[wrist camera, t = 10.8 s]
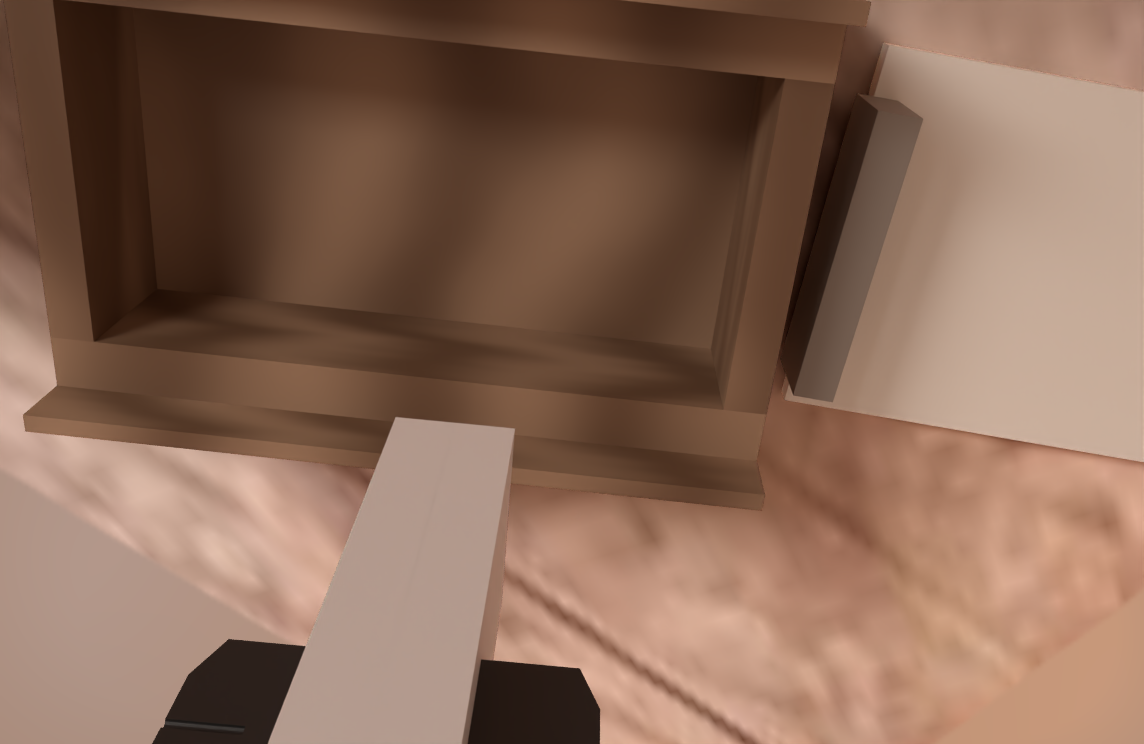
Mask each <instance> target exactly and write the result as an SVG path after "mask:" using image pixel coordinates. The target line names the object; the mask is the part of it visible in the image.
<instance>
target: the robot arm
mask: <svg viewBox="0 0 1144 744" xmlns="http://www.w3.org/2000/svg"><path fill="white" fill-rule="evenodd" d="M514 434H515V428H505V427H494V426H484V425H473V424H463V423H452V422H442V421H431V420H421V419H410V418H400V417H396V418H395V420H394V423H393V425H392V428H391V430H390V433H389V435H388V438H387V441H386V443H385V446H384V448H383V451H382V453H381V456H380V458H379V461H378V463H377V466H376V469H375V471H374V474H373V476H372V479H371V481H370V484H369V486H368V489H367V492H366V494H365V497H364V499H363V502H362V504H361V507H360V509H359V512H358V515H357V517H356V520H355V522H354V525H353V527H352V530H351V532H350V535H349V537H348V540H347V543H346V545H345V548H344V550H343V553H342V555H341V558H340V560H339V563H338V566H337V568H336V571H335V573H334V576H333V578H332V581H331V583H330V586H329V589H328V591H327V594H326V596H325V599H324V601H323V604H322V606H321V609H320V611H319V614H318V617H317V619H316V622H315V624H314V627H313V629H312V632H311V634H310V637H309V640H308V642H307V645H306V646H297V645H286V644H276V643H264V642H254V641H243V640H232V639H228V640H227V641H226V642H225V643H224V644H223V645H222V646H221V647H219V648H218V649H217V650H216V651H215V652H214V653H213V654H211V655H210V656H209V657H208V658H207V659H206V660H205V661H203V662H202V663H201V664H200V665H199V666H198V667H197V668H196V669H194V670H193V671H192V672H191V673H190V674H189V675H188V677H187V678H186V680H185V682H184V684H183V686H182V688H181V690H180V692H179V694H178V696H177V698H176V699H175V701H174V703H173V705H172V707H171V709H170V711H169V713H168V715H167V717H166V719H165V725H164V727H163V728H160V730H159V732H158V734H157V736H156V738H155V740H154V741H153V743H152V744H600V708H599V706H598V704H597V702H596V700H595V698H594V696H593V694H592V692H591V690H590V688H589V686H588V684H587V682H586V680H585V678H584V676H583V674H582V672H581V670H580V669H579V668H568V667H557V666H547V665H536V664H525V663H514V662H504V661H493V658H494V651H495V644H496V638H497V631H498V624H499V617H500V610H501V603H502V594H503V581H504V567H505V554H506V541H507V527H508V514H509V501H510V487H511V474H512V461H513V447H514Z"/></svg>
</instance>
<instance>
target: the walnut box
mask: <svg viewBox="0 0 1144 744" xmlns="http://www.w3.org/2000/svg"><path fill="white" fill-rule="evenodd" d="M870 6H871V2H869V1H866V0H4V8H5V15H6V22H7V29H8V36H9V43H10V51H11V58H12V65H13V72H14V79H15V86H16V93H17V101H18V108H19V115H20V122H21V129H22V136H23V144H24V151H25V158H26V165H27V172H28V179H29V186H30V194H31V201H32V208H33V215H34V222H35V229H36V237H37V244H38V251H39V258H40V265H41V272H42V279H43V287H44V294H45V301H46V308H47V315H48V322H49V330H50V337H51V344H52V351H53V358H54V365H55V372H56V380H57V386H56V387H55V388H54V389H53V390H52V391H50V392H49V393H48V394H47V395H46V396H45V397H43V398H42V399H41V400H40V401H39V402H38V403H36V404H35V405H34V406H33V407H32V408H31V409H29V410H28V411H27V412H26V413H25V414H24V415H23V419H24V425H25V431H27V432H36V433H45V434H55V435H64V436H73V437H83V438H92V439H101V440H110V441H120V442H129V443H138V444H147V445H157V446H166V447H175V448H185V449H194V450H203V451H212V452H222V453H231V454H240V455H250V456H259V457H268V458H277V459H287V460H296V461H305V462H315V463H324V464H333V465H342V466H352V467H361V468H370V469H376V466H377V463H378V461H379V458H380V456H381V453H382V451H383V448H384V446H385V443H386V441H387V438H388V435H389V433H390V430H391V428H392V425H393V423H394V420H395V418H396V417H400V418H410V419H421V420H431V421H442V422H452V423H463V424H473V425H484V426H494V427H505V428H515V434H514V447H513V461H512V474H511V484H519V485H528V486H537V487H547V488H556V489H565V490H574V491H584V492H593V493H602V494H612V495H621V496H630V497H639V498H649V499H658V500H667V501H677V502H686V503H695V504H704V505H714V506H723V507H732V508H742V509H751V510H760V511H762V507H763V502H764V498H765V493H764V489H763V485H762V481H761V477H760V472H759V468H758V464H757V457H758V452H759V447H760V443H761V438H762V433H763V428H764V423H765V418H766V414H767V409H768V404H769V399H770V394H771V390H772V385H773V380H774V375H775V370H776V365H777V361H778V356H779V351H780V346H781V341H782V337H783V332H784V327H785V322H786V317H787V312H788V308H789V303H790V298H791V293H792V288H793V284H794V279H795V274H796V269H797V264H798V260H799V255H800V250H801V245H802V240H803V235H804V231H805V226H806V221H807V216H808V211H809V207H810V202H811V197H812V192H813V187H814V182H815V178H816V173H817V168H818V163H819V158H820V154H821V149H822V144H823V139H824V134H825V129H826V125H827V120H828V115H829V110H830V105H831V101H832V96H833V91H834V86H835V81H836V76H837V72H838V67H839V62H840V57H841V52H842V48H843V43H844V38H845V33H846V28H847V25H853V26H862V27H866V24H867V20H868V15H869V10H870Z"/></svg>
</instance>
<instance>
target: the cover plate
mask: <svg viewBox="0 0 1144 744" xmlns="http://www.w3.org/2000/svg"><path fill="white" fill-rule="evenodd" d="M780 359H781V362H782V365H783V368H784V371H785V374H786V376H785V380H784V383H783V386H782V390H781V391H782V395H783V398H784V400H787V401H792V402H798V403H804V404H810V405H816V406H821V407H827V408H833V409H839V410H844V411H850V412H856V413H862V414H868V415H873V416H879V417H885V418H891V419H896V420H902V421H908V422H914V423H920V424H925V425H931V426H937V427H943V428H948V429H954V430H960V431H966V432H972V433H977V434H983V435H989V436H995V437H1000V438H1006V439H1012V440H1018V441H1023V442H1029V443H1035V444H1041V445H1047V446H1052V447H1058V448H1064V449H1070V450H1075V451H1081V452H1087V453H1093V454H1099V455H1104V456H1110V457H1116V458H1122V459H1127V460H1133V461H1139V462H1144V91H1143V90H1138V89H1133V88H1127V87H1122V86H1116V85H1111V84H1106V83H1100V82H1095V81H1089V80H1084V79H1079V78H1073V77H1068V76H1062V75H1057V74H1052V73H1046V72H1041V71H1035V70H1030V69H1025V68H1019V67H1014V66H1008V65H1003V64H998V63H992V62H987V61H982V60H976V59H971V58H965V57H960V56H955V55H949V54H944V53H938V52H933V51H928V50H922V49H917V48H911V47H906V46H901V45H895V44H890V43H884V42H883V45H882V48H881V52H880V55H879V59H878V62H877V66H876V69H875V72H874V76H873V79H872V83H871V86H870V89H869V93H868V95H864V94H858V93H857V94H856V98H855V101H854V105H853V108H852V112H851V115H850V119H849V122H848V126H847V129H846V133H845V136H844V139H843V143H842V146H841V150H840V153H839V157H838V160H837V164H836V167H835V171H834V174H833V178H832V181H831V185H830V188H829V192H828V195H827V199H826V202H825V206H824V209H823V212H822V216H821V219H820V223H819V226H818V230H817V233H816V237H815V240H814V244H813V247H812V251H811V254H810V258H809V261H808V265H807V268H806V272H805V275H804V278H803V282H802V285H801V289H800V292H799V296H798V299H797V303H796V306H795V310H794V313H793V317H792V320H791V324H790V327H789V331H788V334H787V338H786V341H785V345H784V348H783V351H782V355H781V358H780Z"/></svg>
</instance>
